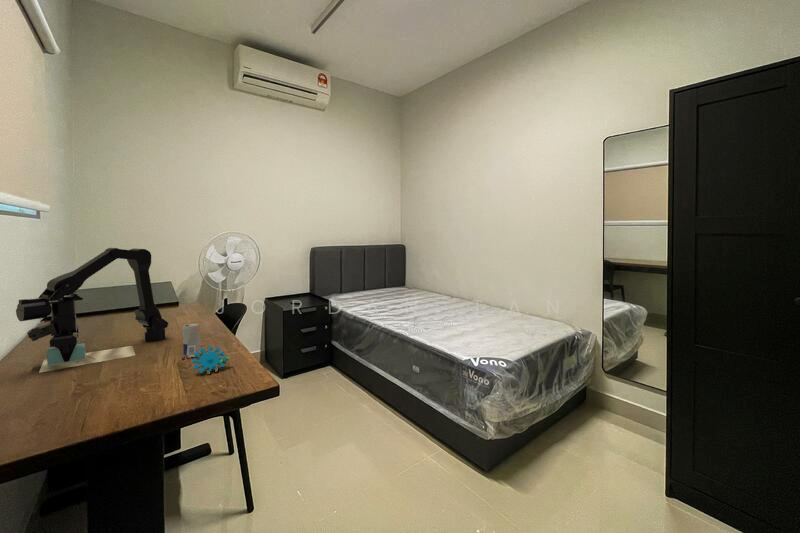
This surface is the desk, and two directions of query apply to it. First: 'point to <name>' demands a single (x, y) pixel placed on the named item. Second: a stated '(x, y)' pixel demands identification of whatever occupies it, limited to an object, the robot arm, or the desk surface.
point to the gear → (210, 359)
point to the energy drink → (191, 339)
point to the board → (94, 358)
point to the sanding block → (56, 358)
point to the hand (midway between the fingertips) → (67, 359)
